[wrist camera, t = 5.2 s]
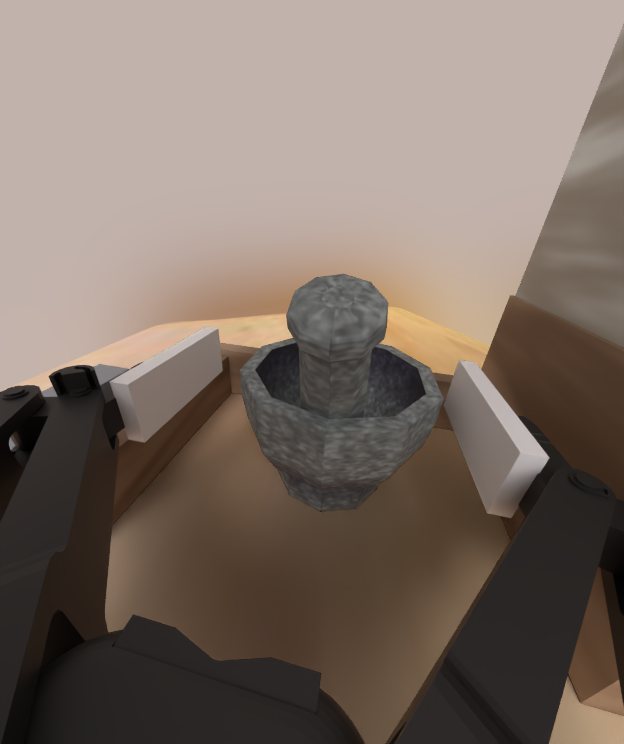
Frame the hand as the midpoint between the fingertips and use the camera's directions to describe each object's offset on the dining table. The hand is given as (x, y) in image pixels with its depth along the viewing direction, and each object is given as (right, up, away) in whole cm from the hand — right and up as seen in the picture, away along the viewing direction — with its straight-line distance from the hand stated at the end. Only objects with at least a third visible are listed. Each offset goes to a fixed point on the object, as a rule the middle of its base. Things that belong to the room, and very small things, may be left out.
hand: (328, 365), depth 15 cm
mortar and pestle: (0, -7, +1) cm, 7 cm away
